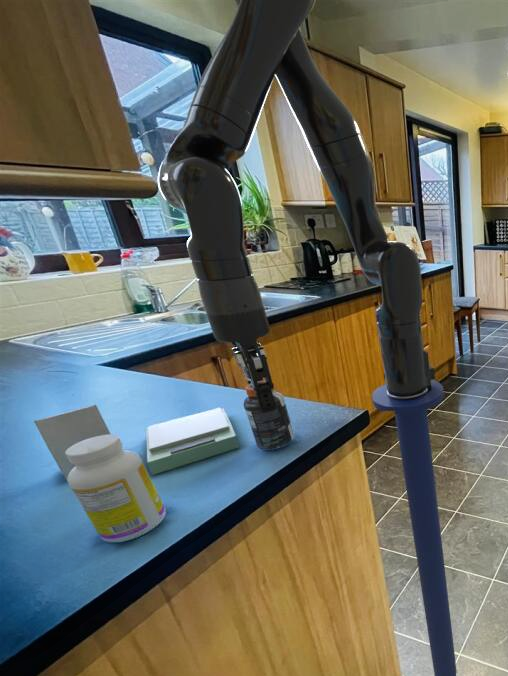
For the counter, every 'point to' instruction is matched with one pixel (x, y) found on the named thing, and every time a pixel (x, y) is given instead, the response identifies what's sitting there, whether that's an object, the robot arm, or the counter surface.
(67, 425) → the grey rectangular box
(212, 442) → the scale
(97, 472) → the supplement bottle
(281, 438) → the pill bottle
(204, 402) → the counter surface
